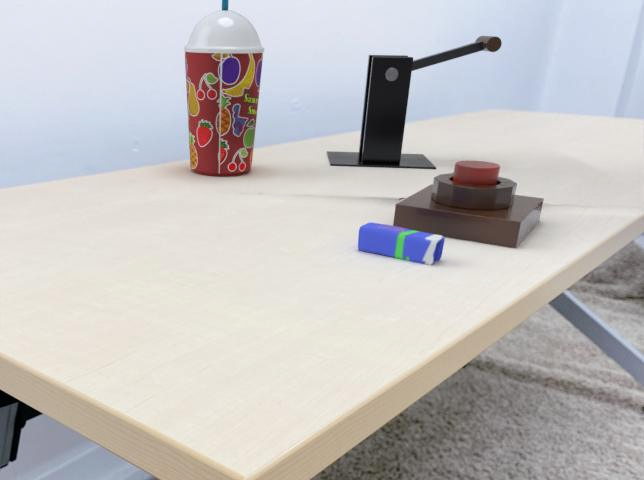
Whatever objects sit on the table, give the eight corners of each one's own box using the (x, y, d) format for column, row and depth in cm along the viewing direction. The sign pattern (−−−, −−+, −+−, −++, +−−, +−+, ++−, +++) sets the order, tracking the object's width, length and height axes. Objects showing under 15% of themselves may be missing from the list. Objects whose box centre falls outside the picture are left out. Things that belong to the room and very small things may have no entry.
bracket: (421, 163, 90) (437, 55, 84) (434, 177, 81) (452, 58, 76) (326, 160, 91) (335, 53, 86) (329, 174, 83) (339, 57, 78)
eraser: (431, 267, 51) (436, 240, 51) (356, 251, 55) (359, 226, 54) (441, 260, 53) (445, 234, 52) (367, 245, 56) (370, 221, 55)
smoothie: (263, 187, 76) (273, -22, 68) (185, 187, 75) (186, -23, 67) (252, 172, 83) (260, -17, 75) (181, 172, 83) (182, -19, 75)
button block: (538, 222, 63) (548, 177, 62) (515, 249, 56) (525, 198, 54) (427, 206, 68) (433, 165, 67) (392, 229, 61) (398, 182, 59)
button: (500, 183, 61) (504, 163, 60) (491, 191, 58) (494, 169, 58) (458, 178, 63) (461, 158, 62) (446, 185, 60) (450, 164, 59)
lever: (490, 51, 82) (487, 30, 81) (503, 53, 77) (500, 30, 76) (375, 85, 85) (371, 64, 84) (380, 88, 80) (376, 67, 79)
